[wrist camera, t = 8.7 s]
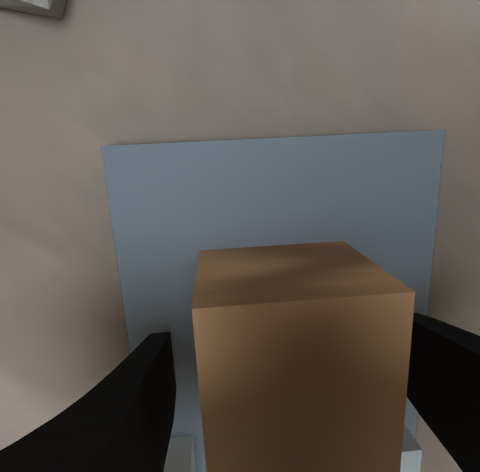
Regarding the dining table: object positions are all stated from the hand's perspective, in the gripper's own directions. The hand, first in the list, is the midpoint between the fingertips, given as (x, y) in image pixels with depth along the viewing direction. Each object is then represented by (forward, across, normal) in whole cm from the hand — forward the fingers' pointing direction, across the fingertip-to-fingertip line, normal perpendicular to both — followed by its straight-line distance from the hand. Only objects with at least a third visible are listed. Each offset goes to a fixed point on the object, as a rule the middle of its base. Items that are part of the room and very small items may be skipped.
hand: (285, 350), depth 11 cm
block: (+1, 0, 0) cm, 1 cm away
